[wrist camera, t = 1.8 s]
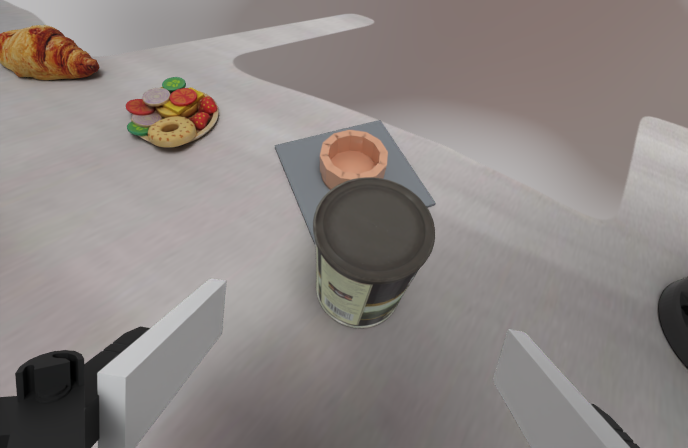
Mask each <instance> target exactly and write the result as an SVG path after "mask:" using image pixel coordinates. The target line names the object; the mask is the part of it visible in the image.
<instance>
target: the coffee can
mask: <svg viewBox="0 0 688 448" xmlns="http://www.w3.org/2000/svg"><path fill="white" fill-rule="evenodd" d="M313 233H314V238H315V248H316V274H317V280H316V291H317V296H318V299H319V302H320V304H321V306H322V308H323V309H324V310H325V312H326V313H327V314H328V315H329V316H330V317H331V318H333V319H334V320H335V321H337V322H339V323H341V324H343V325H345V326H349V327H353V328H367V327H372V326H375V325H377V324H380V323H381V322H383V321H385V320H386V319H387V318H388V317H390V316H391V314H392V313H393V312H394V310H395V309H396V307H397V305H398V303H399V301H400V299H401V297H402V296H403V294H404V292H405V291H406V289H407V288H408V286H409V284H410V283H411V281H412V280H413V278H414V277H415V275H416V273H417V271H418V270H419V269H420V267H421V266H422V265H423V264H424V263H425V262H426V260H427V259H428V257H429V256H430V254H431V252H432V249H433V246H434V240H435V227H434V222H433V219H432V216H431V214H430V212H429V210H428V208H427V207H426V205H425V204H424V203H423V202H422V200H421V199H420V198H419V197H418V196H417V195H416V194H415V193H413V192H412V191H411V190H409V189H408V188H406V187H404V186H403V185H401V184H398V183H396V182H393V181H390V180H387V179H382V178H374V177H364V178H356V179H352V180H348V181H345V182H343V183H341V184H339V185H337V186H335V187H334V188H332V189H331V190H330V191H329V192H328V193H327V194H326V195H325V196H324V197H323V198H322V199H321V201H320V203H319V204H318V206H317V208H316V211H315V214H314V219H313Z"/></svg>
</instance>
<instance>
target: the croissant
mask: <svg viewBox="0 0 688 448" xmlns="http://www.w3.org/2000/svg"><path fill="white" fill-rule="evenodd" d="M0 63H1V64H2V65H3V66H5V67H6V68H7V69H10V70H12V71H13V72H14V73H15V74H16V75H17V76H18V77H33V78H35V79H38V80H55V79H68V78H69V79H75V78H83V77H88V76H90V75H92V74H93V73H95V72H97V71H98V69H99V64H98V63H97V60H95V59H92V58H91V56H90V55H89V54H88V53H87V52H86V51H83V50H82V49H81V48H78V46H77V45H76V44H75V43H74V41H73V40H71V39H69V38H67V37H65V36H64V35H63V34H62V33H61V32H60V31H59V30H57V29H55V28H53V27H50V26H46V25H44V26H41V25H39V26H37V25H36V26H31V27H29V28H24V29H20V30H11V31H7V32H3V33H1V34H0Z"/></svg>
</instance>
